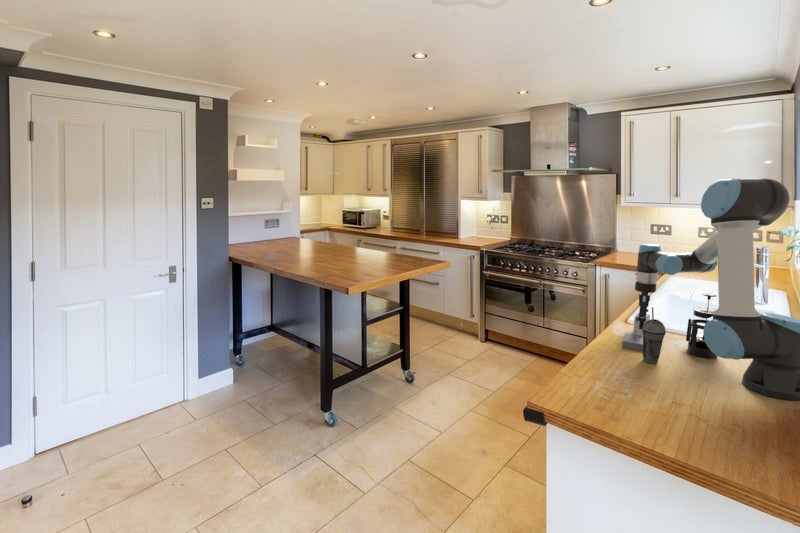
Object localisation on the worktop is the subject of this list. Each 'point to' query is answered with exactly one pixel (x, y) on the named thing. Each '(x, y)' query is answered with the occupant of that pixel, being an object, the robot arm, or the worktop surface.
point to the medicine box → (637, 323)
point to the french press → (697, 342)
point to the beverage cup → (652, 339)
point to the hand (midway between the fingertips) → (640, 331)
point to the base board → (633, 342)
